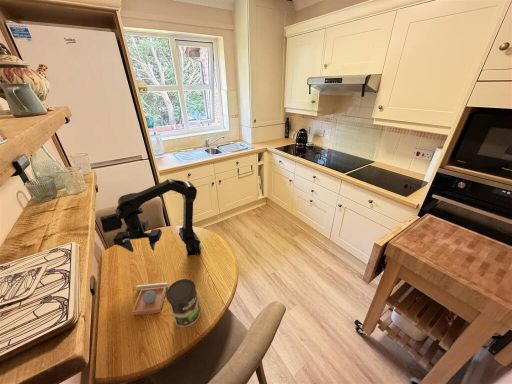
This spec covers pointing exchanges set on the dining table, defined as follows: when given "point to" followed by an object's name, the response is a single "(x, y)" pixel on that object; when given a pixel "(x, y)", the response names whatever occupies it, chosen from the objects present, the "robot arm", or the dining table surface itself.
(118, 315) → the dining table surface
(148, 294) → the ball
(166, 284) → the wall
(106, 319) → the dining table surface
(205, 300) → the dining table surface
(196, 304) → the coffee can
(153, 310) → the dish
